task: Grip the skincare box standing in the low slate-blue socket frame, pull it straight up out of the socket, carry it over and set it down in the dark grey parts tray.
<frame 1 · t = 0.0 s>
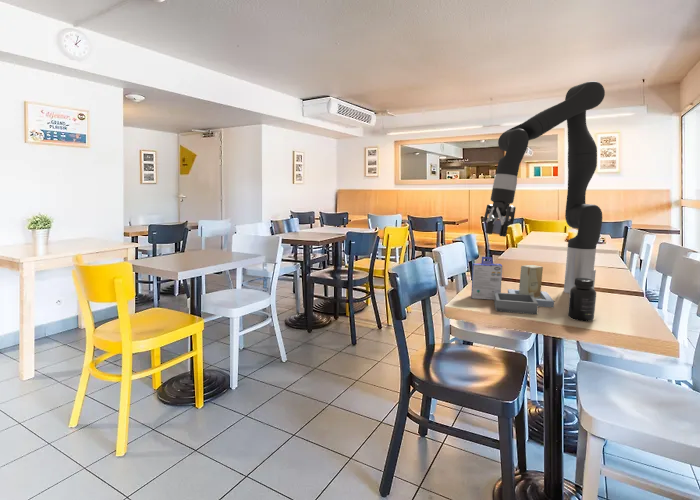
hand: (495, 235, 143), 22 cm above the table, tool pointing down, fingers open, 8 cm apart
ink cartridge box: (485, 298, 146), on the table
parts tray: (514, 308, 133), on the table
socket block: (529, 300, 143), on the table
skincare box: (529, 301, 143), resting in socket block
supplement bottle: (580, 319, 123), on the table
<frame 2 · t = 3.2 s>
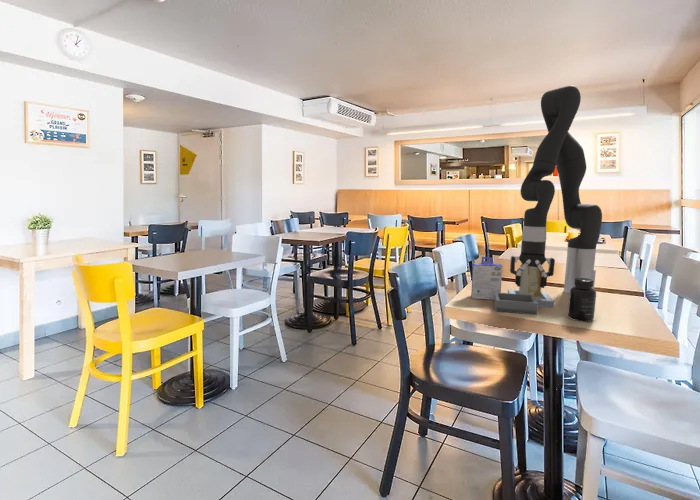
hand: (530, 286, 142), 5 cm above the table, tool pointing down, fingers closed on skincare box, 7 cm apart
skincare box: (529, 301, 143), resting in socket block, touching gripper
everything else where it was.
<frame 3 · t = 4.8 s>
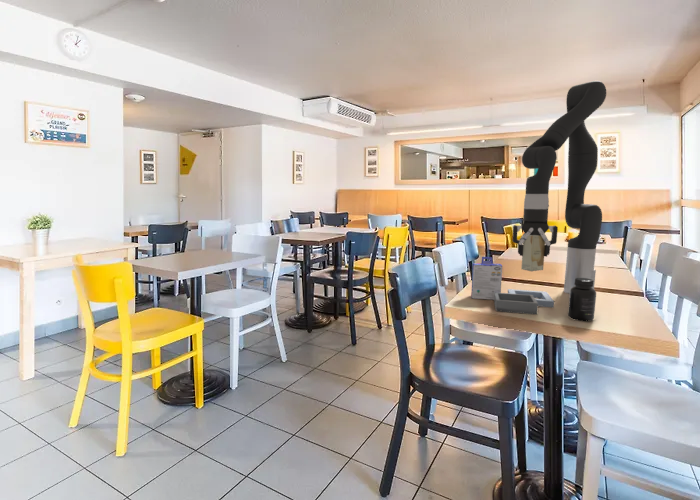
hand: (533, 255, 141), 16 cm above the table, tool pointing down, fingers closed on skincare box, 7 cm apart
skincare box: (532, 270, 141), point 11 cm above the table, touching gripper
everything else where it was.
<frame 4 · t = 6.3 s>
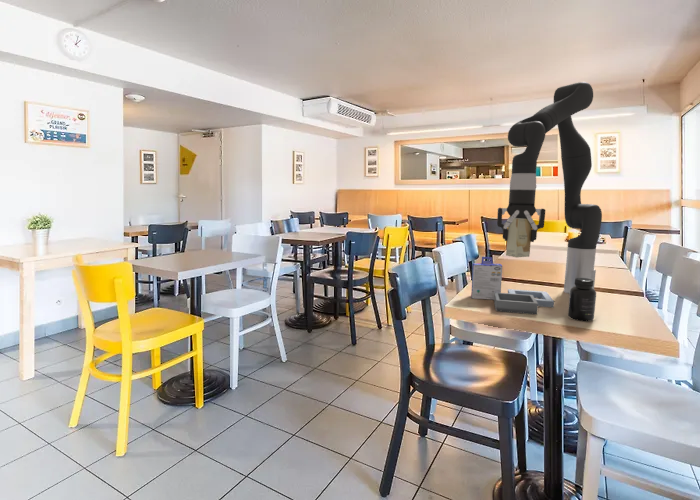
hand: (518, 241, 130), 22 cm above the table, tool pointing down, fingers closed on skincare box, 7 cm apart
skincare box: (517, 257, 131), point 17 cm above the table, touching gripper
everything else where it was.
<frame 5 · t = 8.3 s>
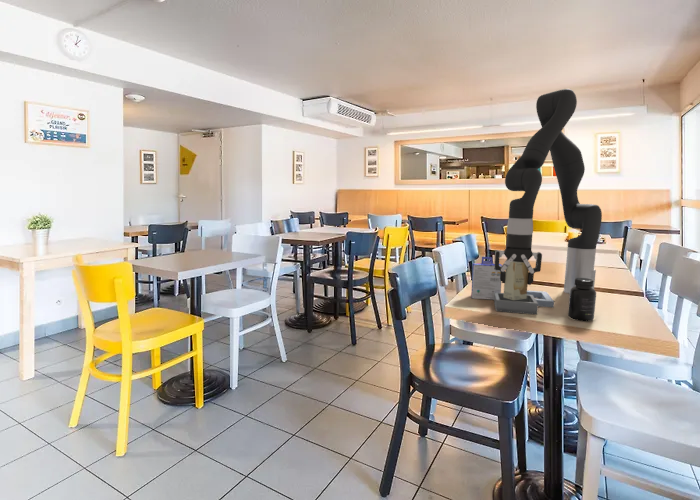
hand: (515, 283, 132), 8 cm above the table, tool pointing down, fingers closed on skincare box, 7 cm apart
skincare box: (515, 298, 133), point 3 cm above the table, touching gripper
everything else where it was.
when the fingers open (7 cm above the table, at t = 9.5 s): skincare box drops 1 cm, resting on parts tray.
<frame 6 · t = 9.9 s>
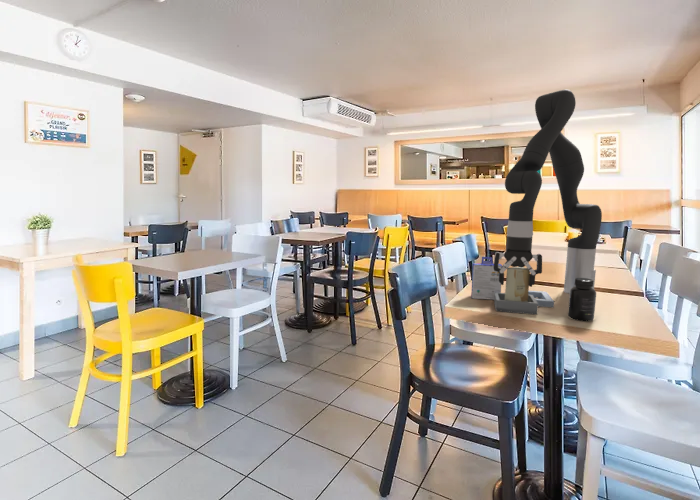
hand: (516, 285, 132), 8 cm above the table, tool pointing down, fingers open, 8 cm apart
skincare box: (515, 305, 133), point 1 cm above the table, touching gripper, parts tray
everything else where it was.
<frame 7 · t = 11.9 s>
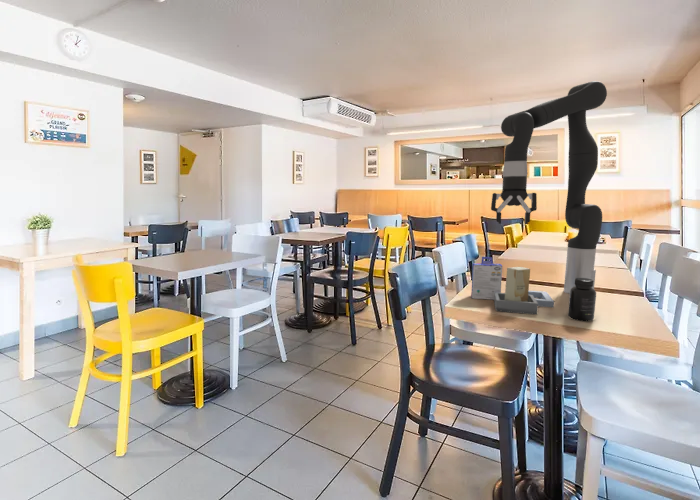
hand: (512, 223, 140), 27 cm above the table, tool pointing down, fingers open, 8 cm apart
skincare box: (515, 305, 133), point 1 cm above the table, touching parts tray
everything else where it was.
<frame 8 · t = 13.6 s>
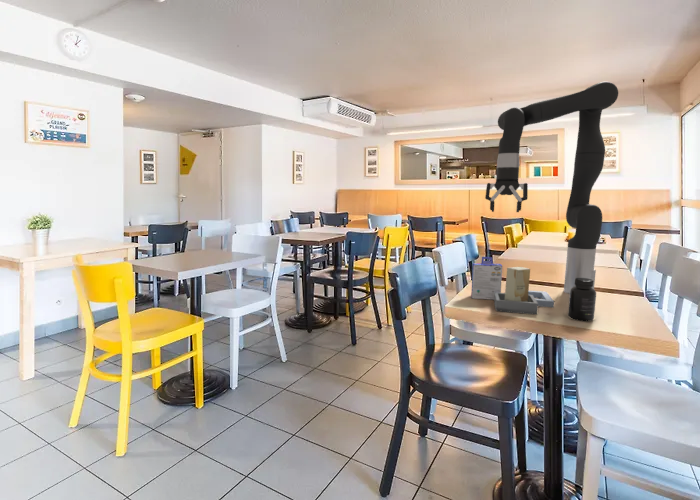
hand: (505, 211, 150), 30 cm above the table, tool pointing down, fingers open, 8 cm apart
nothing on the table moved.
at the end: skincare box inside the target area on the parts tray (0.4 cm from its centre), point 0.8 cm above the parts tray's base; the gripper is holding nothing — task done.
